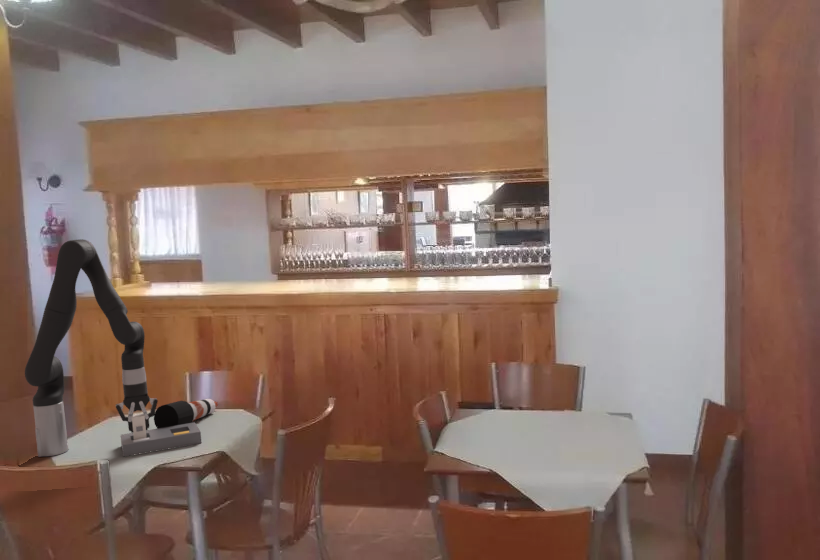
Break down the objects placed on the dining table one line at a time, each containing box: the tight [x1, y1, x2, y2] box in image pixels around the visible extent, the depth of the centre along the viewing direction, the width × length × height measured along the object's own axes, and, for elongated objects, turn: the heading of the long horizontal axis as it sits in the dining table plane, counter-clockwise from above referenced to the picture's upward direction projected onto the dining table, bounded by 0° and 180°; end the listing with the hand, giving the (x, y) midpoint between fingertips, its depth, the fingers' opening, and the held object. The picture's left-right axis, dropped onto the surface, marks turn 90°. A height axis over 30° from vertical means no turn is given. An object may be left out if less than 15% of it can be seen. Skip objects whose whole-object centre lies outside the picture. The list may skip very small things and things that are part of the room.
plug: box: [132, 412, 147, 440], centre depth 249 cm, size 4×5×11 cm
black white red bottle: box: [153, 398, 219, 429], centre depth 280 cm, size 10×34×10 cm, turn 162°
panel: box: [120, 421, 203, 457], centre depth 253 cm, size 25×14×4 cm, turn 114°
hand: (139, 430), depth 250 cm, fingers closed on plug, 4 cm apart
